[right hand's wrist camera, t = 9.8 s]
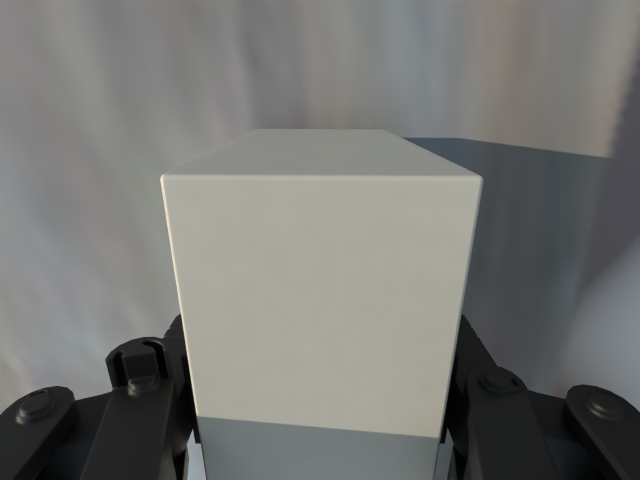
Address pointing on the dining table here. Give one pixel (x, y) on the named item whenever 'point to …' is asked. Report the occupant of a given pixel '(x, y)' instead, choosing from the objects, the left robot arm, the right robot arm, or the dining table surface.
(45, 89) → the dining table surface
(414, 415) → the post
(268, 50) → the dining table surface
